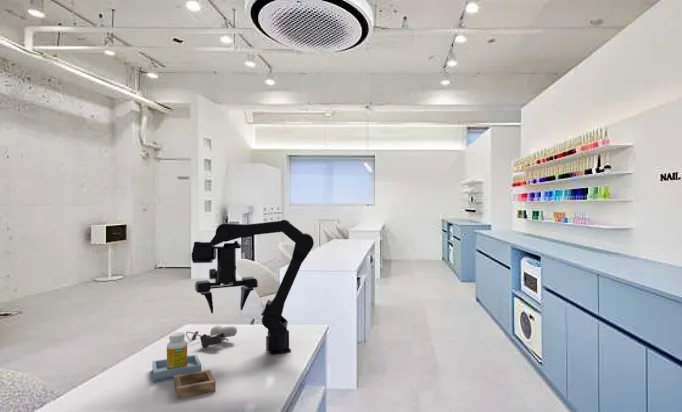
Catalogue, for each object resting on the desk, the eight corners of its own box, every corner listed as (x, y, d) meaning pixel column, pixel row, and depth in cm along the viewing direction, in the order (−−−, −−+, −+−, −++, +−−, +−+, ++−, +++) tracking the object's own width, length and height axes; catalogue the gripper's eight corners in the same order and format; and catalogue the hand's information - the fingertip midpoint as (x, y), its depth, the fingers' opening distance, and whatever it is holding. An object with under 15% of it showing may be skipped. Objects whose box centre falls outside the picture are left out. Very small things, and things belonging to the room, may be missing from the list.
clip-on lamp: (179, 353, 143) (219, 348, 136) (175, 335, 144) (214, 329, 136) (204, 340, 154) (242, 335, 147) (199, 323, 154) (238, 317, 147)
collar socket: (209, 378, 113) (209, 369, 113) (215, 391, 105) (215, 381, 105) (173, 385, 109) (173, 375, 109) (177, 399, 101) (177, 388, 101)
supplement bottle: (173, 374, 115) (173, 338, 115) (163, 369, 118) (162, 335, 118) (191, 368, 119) (191, 333, 119) (180, 364, 122) (180, 330, 123)
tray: (196, 362, 126) (196, 354, 126) (201, 374, 117) (201, 365, 117) (152, 369, 120) (152, 361, 120) (154, 382, 111) (154, 372, 111)
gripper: (249, 258, 146) (249, 303, 146) (192, 261, 138) (192, 309, 138) (257, 261, 136) (258, 310, 136) (197, 265, 128) (197, 317, 128)
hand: (226, 311), depth 135 cm, fingers open, 9 cm apart
